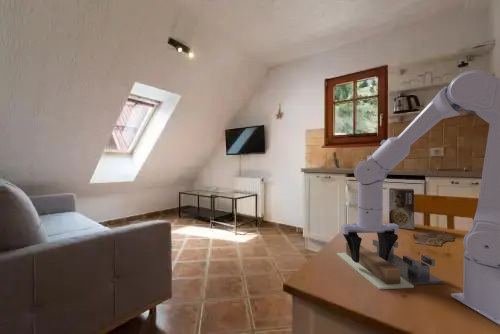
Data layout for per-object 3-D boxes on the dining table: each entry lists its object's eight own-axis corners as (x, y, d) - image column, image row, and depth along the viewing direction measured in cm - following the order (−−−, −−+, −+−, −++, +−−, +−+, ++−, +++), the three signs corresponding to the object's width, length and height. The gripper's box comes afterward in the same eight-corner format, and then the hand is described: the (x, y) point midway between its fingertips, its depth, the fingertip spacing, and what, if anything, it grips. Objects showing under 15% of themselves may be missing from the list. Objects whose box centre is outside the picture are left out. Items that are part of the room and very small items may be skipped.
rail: (400, 283, 53) (400, 269, 53) (386, 284, 53) (387, 270, 53) (356, 253, 71) (356, 242, 71) (346, 253, 71) (346, 243, 71)
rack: (443, 283, 54) (443, 262, 54) (414, 284, 54) (414, 263, 54) (389, 253, 72) (389, 237, 72) (367, 254, 72) (367, 238, 72)
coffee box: (413, 226, 103) (414, 188, 103) (414, 230, 98) (414, 190, 97) (389, 223, 108) (389, 187, 108) (388, 226, 102) (388, 188, 102)
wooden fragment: (436, 249, 76) (436, 246, 76) (399, 240, 86) (399, 237, 86) (465, 236, 90) (465, 233, 90) (431, 229, 99) (431, 227, 99)
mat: (413, 287, 53) (413, 285, 53) (379, 289, 52) (379, 287, 52) (362, 253, 73) (362, 251, 73) (336, 254, 72) (336, 252, 72)
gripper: (386, 204, 67) (385, 253, 67) (335, 205, 65) (335, 255, 65) (405, 209, 60) (404, 264, 60) (349, 211, 58) (348, 266, 58)
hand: (369, 260), depth 62 cm, fingers open, 7 cm apart
